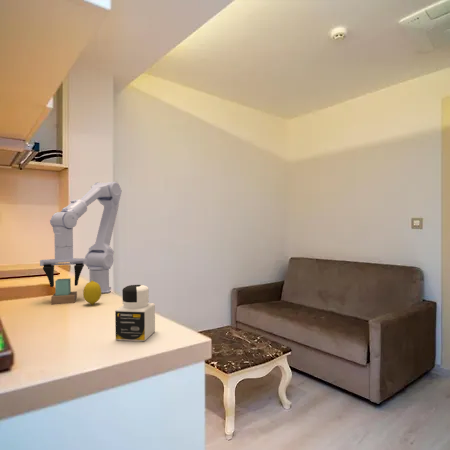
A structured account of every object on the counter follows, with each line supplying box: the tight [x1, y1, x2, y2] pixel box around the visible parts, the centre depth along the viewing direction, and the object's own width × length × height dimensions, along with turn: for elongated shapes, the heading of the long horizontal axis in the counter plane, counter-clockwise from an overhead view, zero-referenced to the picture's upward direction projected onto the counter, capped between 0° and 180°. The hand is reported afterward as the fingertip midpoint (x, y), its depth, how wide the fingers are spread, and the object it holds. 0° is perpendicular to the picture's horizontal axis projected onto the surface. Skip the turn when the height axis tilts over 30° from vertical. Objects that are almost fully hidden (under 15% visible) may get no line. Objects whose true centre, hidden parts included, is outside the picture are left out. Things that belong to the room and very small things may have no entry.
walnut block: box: [50, 290, 78, 306], centre depth 115 cm, size 7×7×3 cm
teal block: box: [54, 278, 72, 296], centre depth 115 cm, size 4×4×5 cm
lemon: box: [82, 281, 102, 306], centre depth 110 cm, size 6×6×8 cm
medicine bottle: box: [114, 284, 156, 342], centre depth 79 cm, size 7×7×12 cm
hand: (64, 285), depth 115 cm, fingers open, 7 cm apart
